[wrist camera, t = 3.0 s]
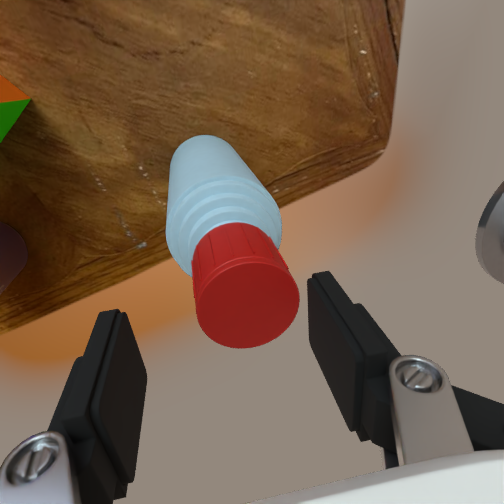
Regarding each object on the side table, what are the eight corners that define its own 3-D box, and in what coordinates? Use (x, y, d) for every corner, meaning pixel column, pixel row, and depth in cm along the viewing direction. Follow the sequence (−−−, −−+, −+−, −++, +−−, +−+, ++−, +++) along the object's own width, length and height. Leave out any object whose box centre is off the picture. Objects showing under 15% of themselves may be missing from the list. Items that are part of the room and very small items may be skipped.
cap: (274, 216, 15) (302, 254, 12) (275, 289, 17) (299, 340, 14) (186, 226, 15) (189, 269, 12) (196, 301, 17) (202, 357, 13)
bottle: (239, 132, 30) (331, 213, 12) (242, 202, 33) (321, 350, 15) (164, 137, 29) (146, 234, 11) (175, 208, 32) (174, 375, 14)
